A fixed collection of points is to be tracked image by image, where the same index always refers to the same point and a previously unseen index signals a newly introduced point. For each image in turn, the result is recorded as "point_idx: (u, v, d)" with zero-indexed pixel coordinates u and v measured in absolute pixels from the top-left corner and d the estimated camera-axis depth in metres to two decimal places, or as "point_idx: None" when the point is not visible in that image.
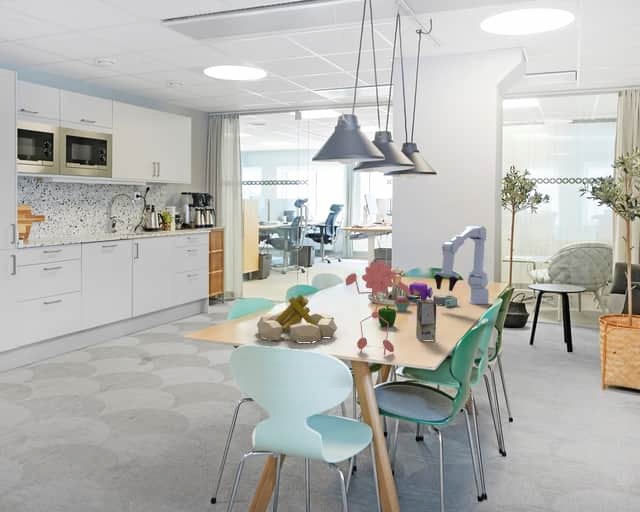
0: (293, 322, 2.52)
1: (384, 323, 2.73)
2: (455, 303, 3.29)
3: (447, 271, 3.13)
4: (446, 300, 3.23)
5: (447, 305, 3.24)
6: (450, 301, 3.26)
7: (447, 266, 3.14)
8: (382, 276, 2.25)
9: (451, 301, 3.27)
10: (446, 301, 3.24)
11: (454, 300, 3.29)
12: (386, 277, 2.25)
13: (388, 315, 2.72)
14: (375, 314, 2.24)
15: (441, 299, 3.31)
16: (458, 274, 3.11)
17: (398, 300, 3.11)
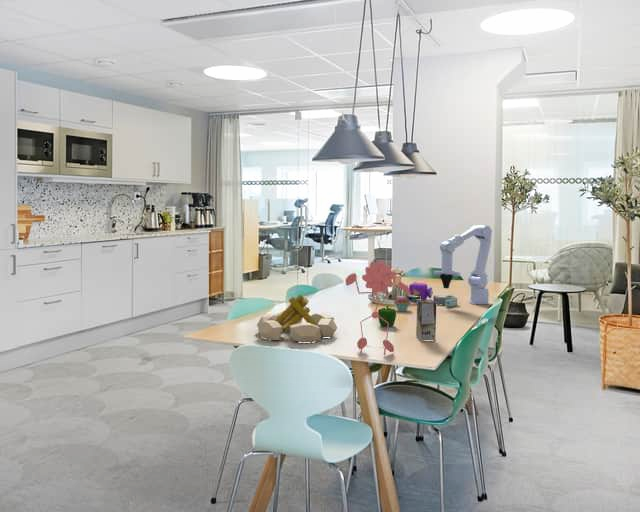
0: (293, 322, 2.52)
1: (384, 323, 2.73)
2: (455, 303, 3.29)
3: (448, 270, 3.23)
4: (446, 300, 3.23)
5: (447, 305, 3.24)
6: (450, 301, 3.26)
7: (448, 266, 3.23)
8: (382, 276, 2.25)
9: (451, 301, 3.27)
10: (446, 301, 3.24)
11: (454, 300, 3.29)
12: (386, 277, 2.25)
13: (388, 315, 2.72)
14: (375, 314, 2.24)
15: (441, 299, 3.31)
16: (459, 272, 3.23)
17: (398, 300, 3.11)
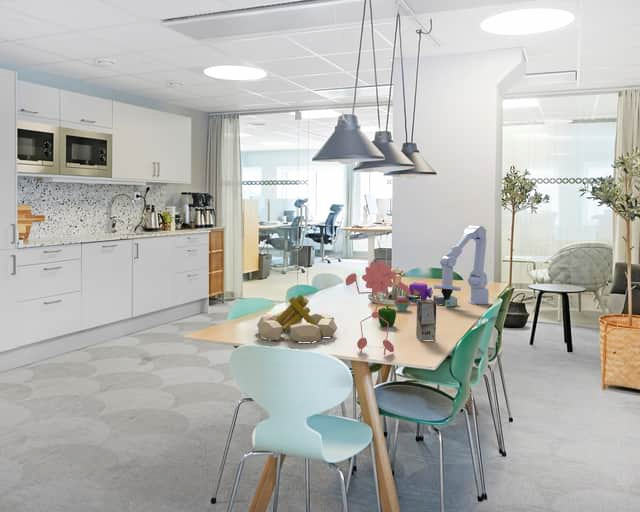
0: (293, 322, 2.52)
1: (384, 323, 2.73)
2: (455, 303, 3.29)
3: (449, 285, 3.24)
4: (446, 300, 3.23)
5: (447, 305, 3.24)
6: (450, 301, 3.26)
7: (448, 280, 3.24)
8: (382, 276, 2.25)
9: (451, 301, 3.27)
10: (446, 301, 3.24)
11: (454, 300, 3.29)
12: (386, 277, 2.25)
13: (388, 315, 2.72)
14: (375, 314, 2.24)
15: (441, 299, 3.31)
16: (460, 287, 3.23)
17: (398, 300, 3.11)
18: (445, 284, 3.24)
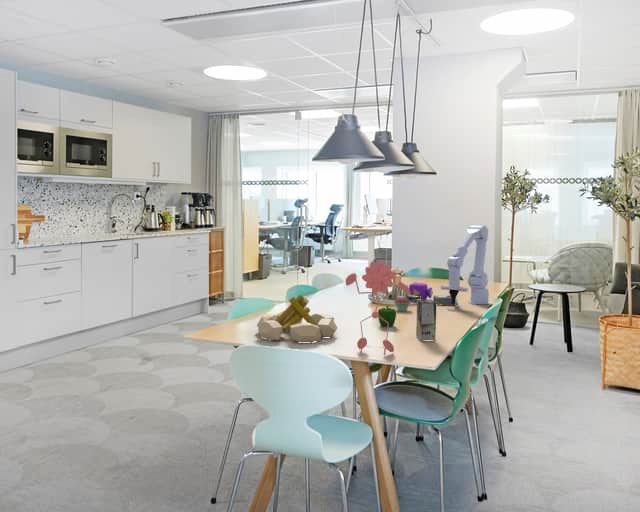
0: (293, 322, 2.52)
1: (384, 323, 2.73)
2: None
3: (456, 286, 3.21)
4: (456, 301, 3.21)
5: (456, 306, 3.22)
6: None
7: (455, 281, 3.21)
8: (382, 276, 2.25)
9: None
10: (456, 302, 3.21)
11: None
12: (386, 277, 2.25)
13: (388, 315, 2.72)
14: (375, 314, 2.24)
15: (441, 299, 3.31)
16: (467, 288, 3.20)
17: (398, 300, 3.11)
18: (452, 285, 3.22)
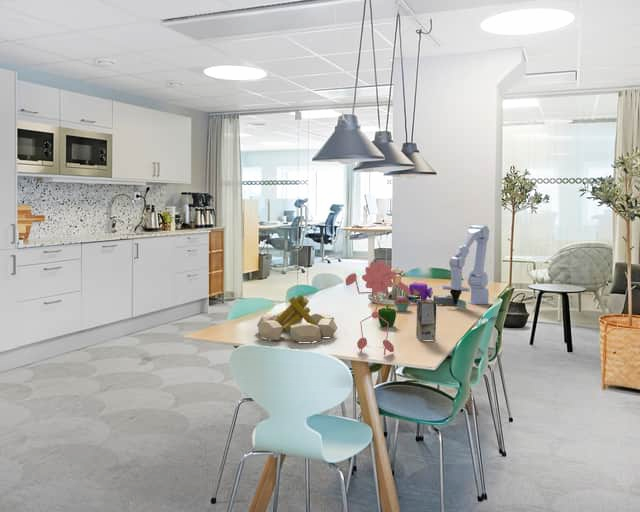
0: (293, 322, 2.52)
1: (384, 323, 2.73)
2: None
3: (458, 286, 3.21)
4: (465, 301, 3.21)
5: None
6: None
7: (457, 281, 3.21)
8: (382, 276, 2.25)
9: None
10: (465, 302, 3.21)
11: None
12: (386, 277, 2.25)
13: (388, 315, 2.72)
14: (375, 314, 2.24)
15: (441, 299, 3.31)
16: (469, 288, 3.21)
17: (398, 300, 3.11)
18: (454, 285, 3.22)
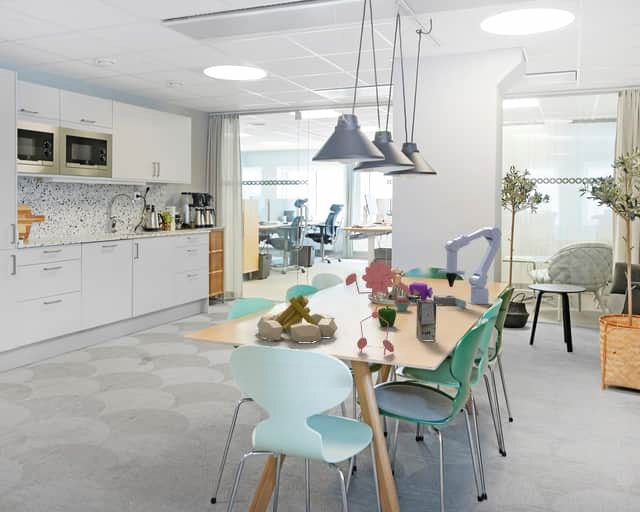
0: (293, 322, 2.52)
1: (384, 323, 2.73)
2: None
3: (453, 269, 3.30)
4: (465, 301, 3.21)
5: None
6: None
7: (453, 264, 3.29)
8: (382, 276, 2.25)
9: None
10: (465, 302, 3.21)
11: None
12: (386, 277, 2.25)
13: (388, 315, 2.72)
14: (375, 314, 2.24)
15: (441, 299, 3.31)
16: (464, 271, 3.29)
17: (398, 300, 3.11)
18: (450, 268, 3.30)
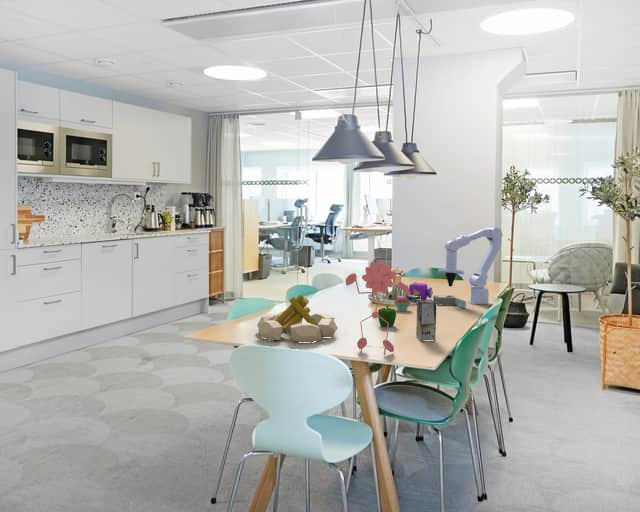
0: (293, 322, 2.52)
1: (384, 323, 2.73)
2: None
3: (452, 269, 3.31)
4: (465, 301, 3.21)
5: None
6: None
7: (452, 264, 3.31)
8: (382, 276, 2.25)
9: None
10: (465, 302, 3.21)
11: None
12: (386, 277, 2.25)
13: (388, 315, 2.72)
14: (375, 314, 2.24)
15: (441, 299, 3.31)
16: (463, 271, 3.30)
17: (398, 300, 3.11)
18: (449, 268, 3.31)
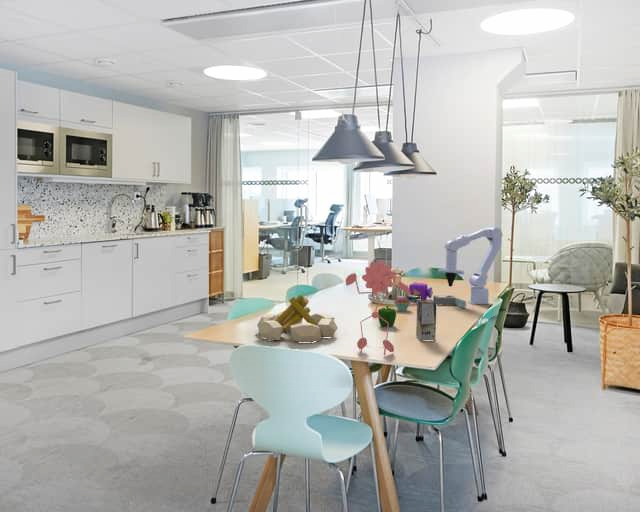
0: (293, 322, 2.52)
1: (384, 323, 2.73)
2: None
3: (452, 269, 3.31)
4: (465, 301, 3.21)
5: None
6: None
7: (452, 264, 3.31)
8: (382, 276, 2.25)
9: None
10: (465, 302, 3.21)
11: None
12: (386, 277, 2.25)
13: (388, 315, 2.72)
14: (375, 314, 2.24)
15: (441, 299, 3.31)
16: (463, 271, 3.30)
17: (398, 300, 3.11)
18: (449, 268, 3.31)
